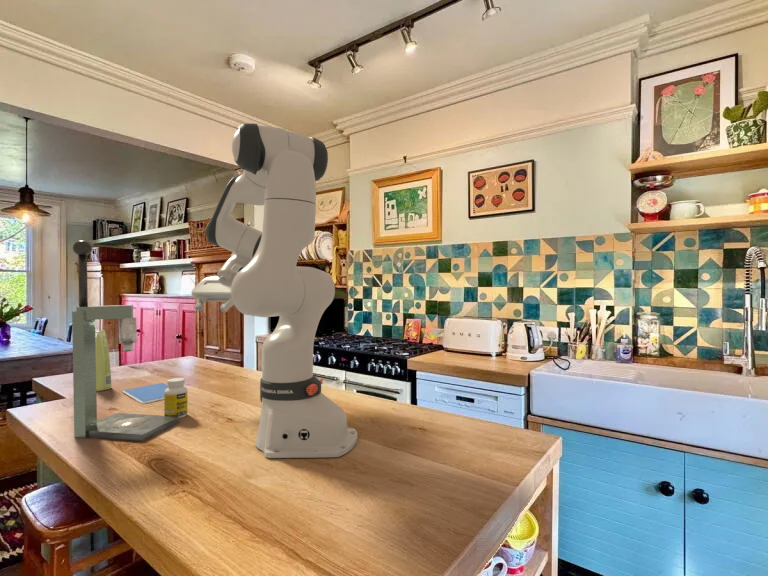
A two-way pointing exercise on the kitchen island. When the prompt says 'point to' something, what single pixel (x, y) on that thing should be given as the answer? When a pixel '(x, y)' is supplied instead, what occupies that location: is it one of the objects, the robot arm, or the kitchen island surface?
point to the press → (85, 368)
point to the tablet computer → (147, 393)
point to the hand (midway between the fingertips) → (210, 310)
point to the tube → (102, 362)
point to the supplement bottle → (175, 398)
